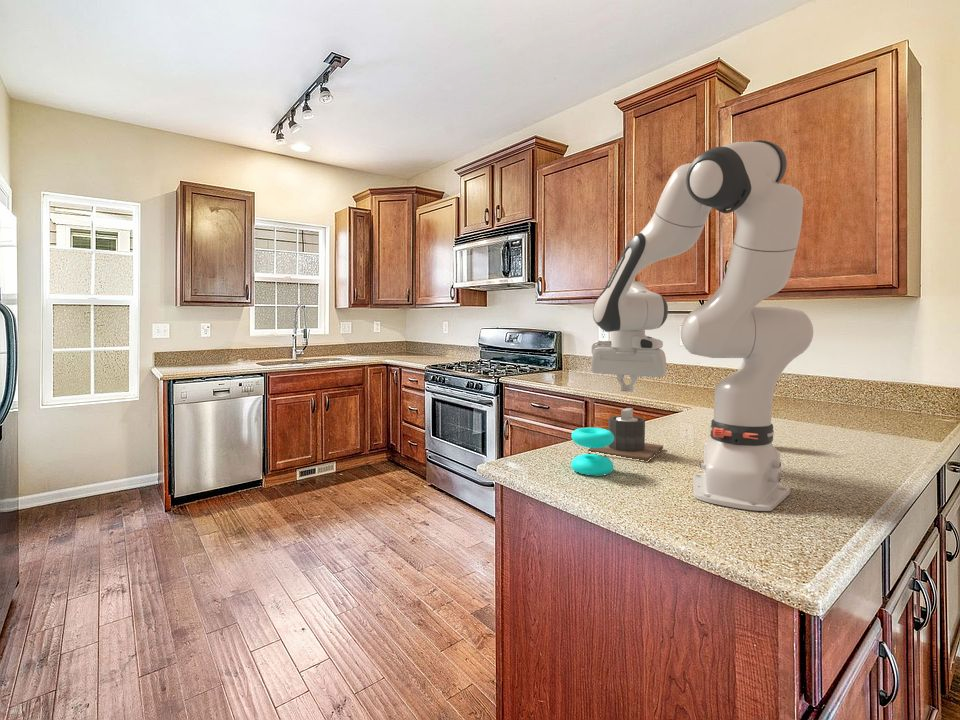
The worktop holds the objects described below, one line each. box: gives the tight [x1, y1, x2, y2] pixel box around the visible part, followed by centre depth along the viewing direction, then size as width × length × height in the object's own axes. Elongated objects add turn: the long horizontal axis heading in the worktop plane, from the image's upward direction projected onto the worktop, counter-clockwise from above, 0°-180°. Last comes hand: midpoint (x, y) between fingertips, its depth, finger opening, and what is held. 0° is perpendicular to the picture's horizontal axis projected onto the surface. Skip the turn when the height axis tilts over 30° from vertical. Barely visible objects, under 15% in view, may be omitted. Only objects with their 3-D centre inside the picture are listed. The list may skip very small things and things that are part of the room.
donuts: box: [570, 426, 614, 476], centre depth 120 cm, size 10×10×10 cm
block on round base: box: [616, 407, 638, 422], centre depth 138 cm, size 6×6×5 cm
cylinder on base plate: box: [587, 415, 664, 462], centre depth 138 cm, size 16×16×9 cm
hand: (626, 391), depth 137 cm, fingers closed
